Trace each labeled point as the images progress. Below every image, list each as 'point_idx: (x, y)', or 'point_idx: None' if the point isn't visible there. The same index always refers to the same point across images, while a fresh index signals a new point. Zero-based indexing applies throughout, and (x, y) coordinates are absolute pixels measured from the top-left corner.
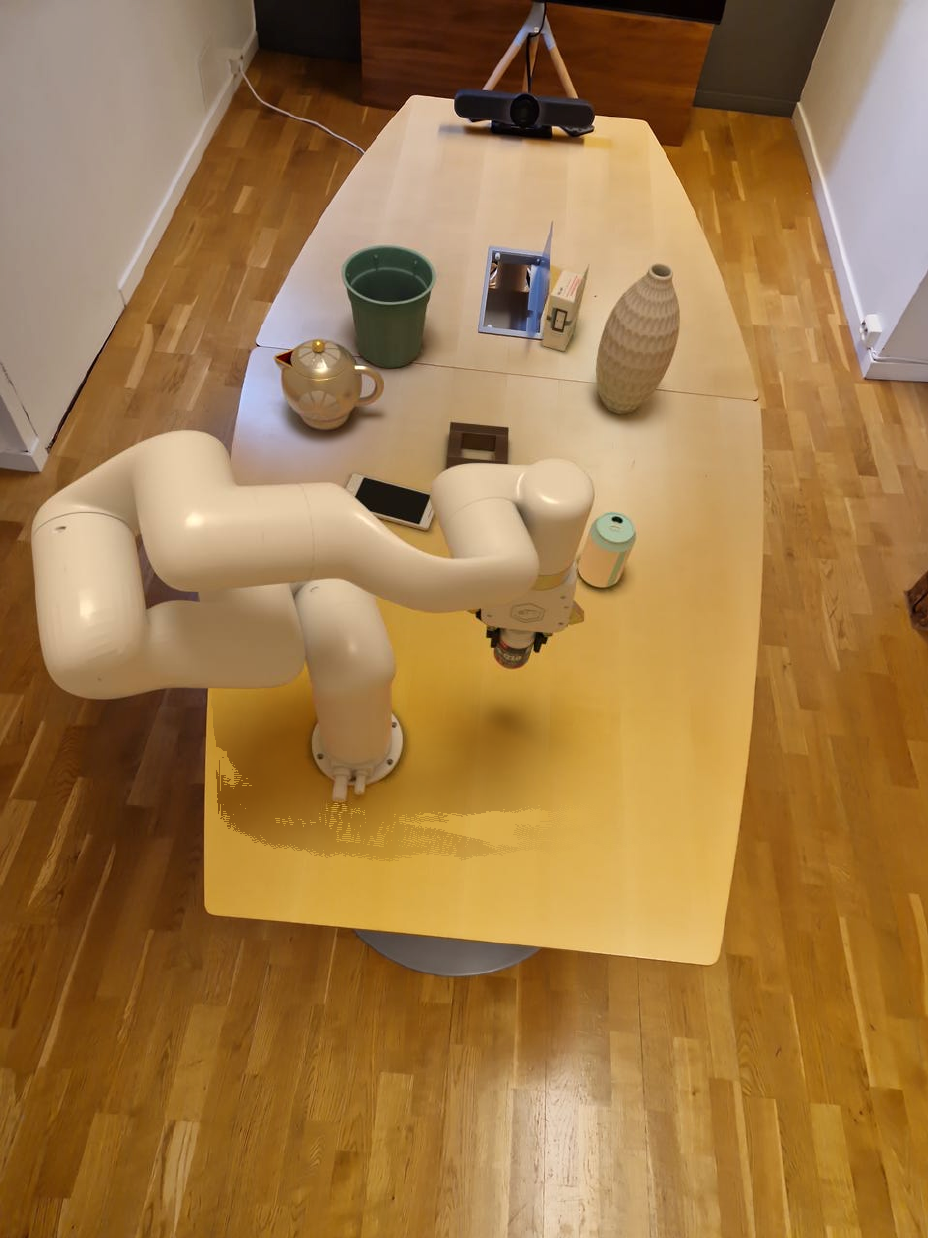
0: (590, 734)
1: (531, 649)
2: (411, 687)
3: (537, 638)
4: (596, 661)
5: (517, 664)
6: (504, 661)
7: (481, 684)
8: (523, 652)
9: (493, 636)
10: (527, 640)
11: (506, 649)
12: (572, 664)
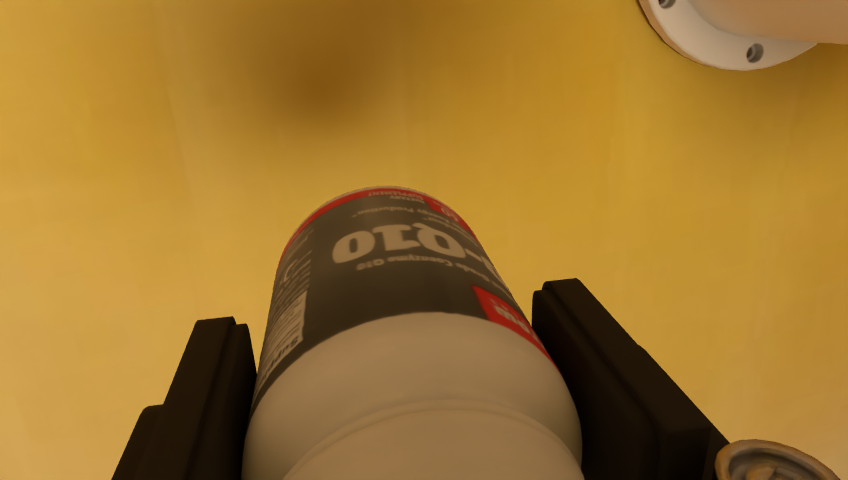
0: (16, 86)
1: (265, 334)
2: (606, 142)
3: (209, 478)
4: (71, 337)
5: (342, 214)
6: (432, 214)
7: None
8: (326, 294)
9: (667, 379)
10: (317, 420)
11: (477, 287)
12: (145, 312)
